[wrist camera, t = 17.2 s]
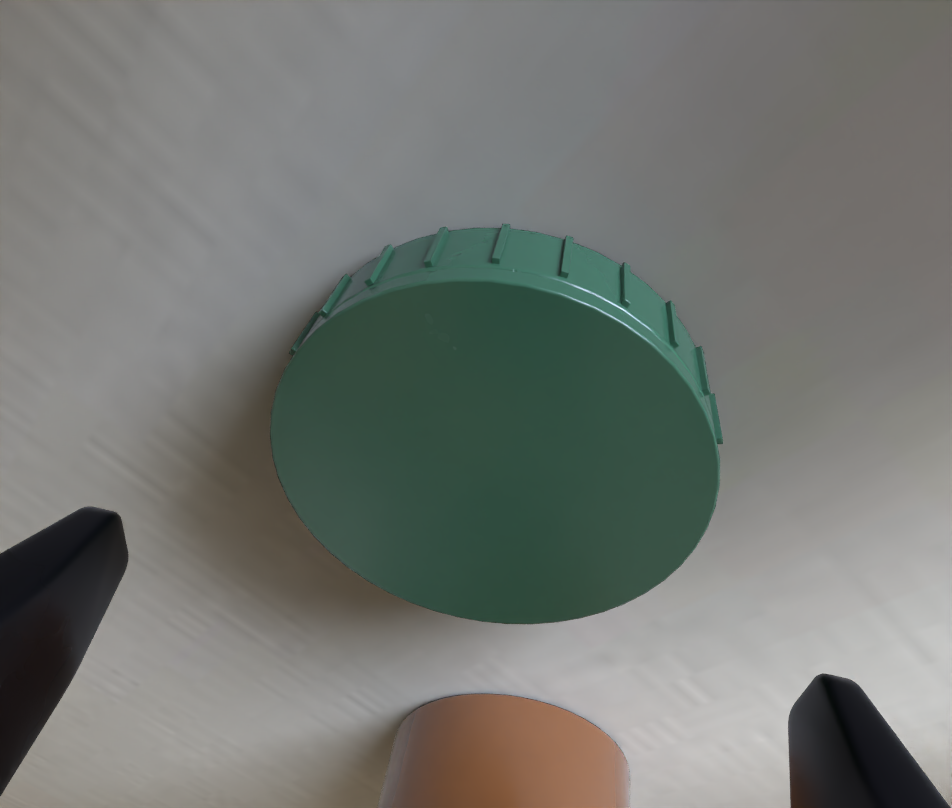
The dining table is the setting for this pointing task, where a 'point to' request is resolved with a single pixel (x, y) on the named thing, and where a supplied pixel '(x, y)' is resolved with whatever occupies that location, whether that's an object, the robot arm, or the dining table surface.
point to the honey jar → (502, 757)
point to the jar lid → (499, 428)
